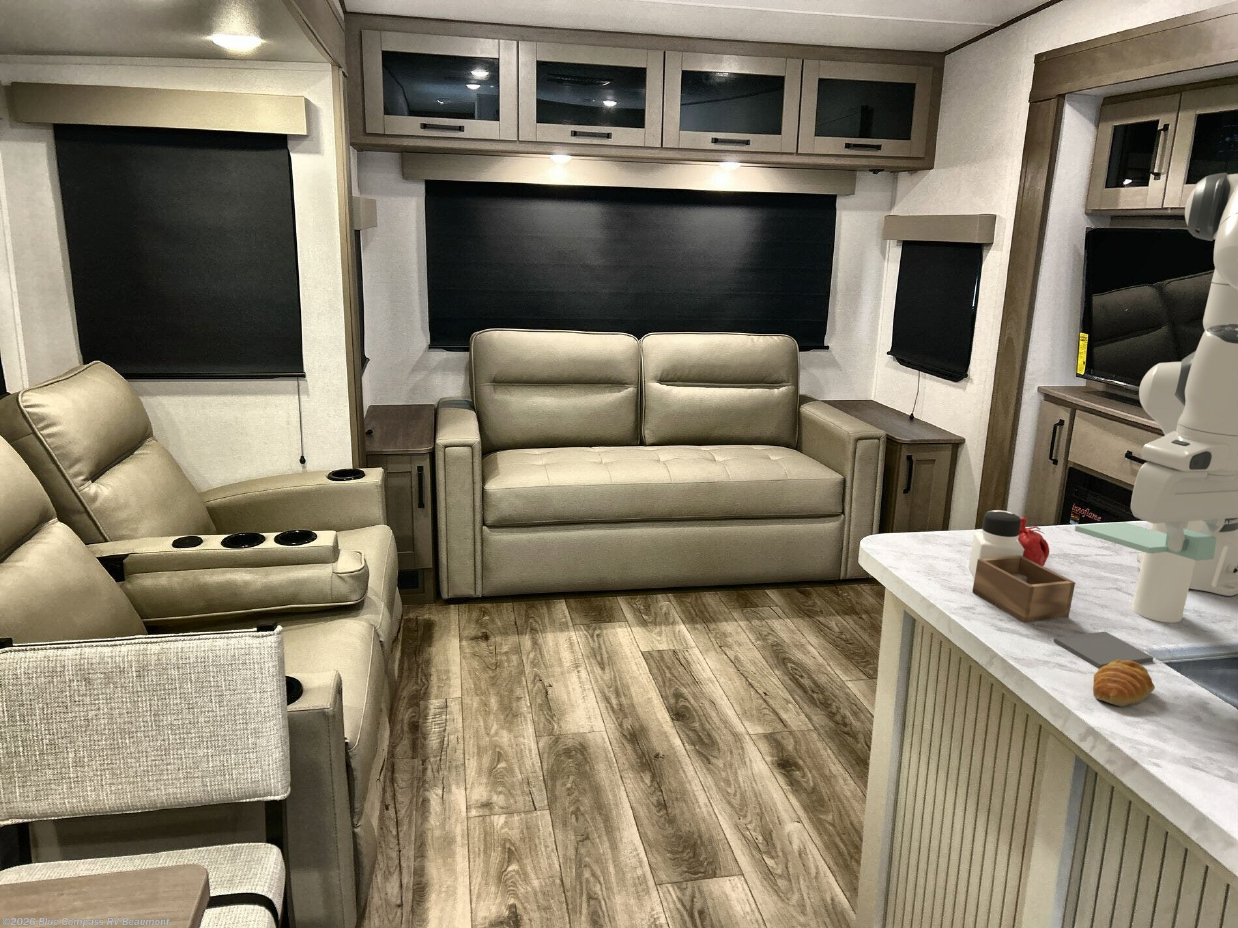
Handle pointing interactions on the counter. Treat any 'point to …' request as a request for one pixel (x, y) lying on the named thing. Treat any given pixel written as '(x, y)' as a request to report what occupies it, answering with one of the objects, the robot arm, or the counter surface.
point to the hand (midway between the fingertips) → (1188, 549)
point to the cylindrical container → (1164, 581)
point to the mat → (1102, 648)
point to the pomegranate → (1033, 544)
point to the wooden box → (1023, 588)
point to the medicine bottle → (996, 538)
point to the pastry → (1122, 683)
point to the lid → (1151, 539)
